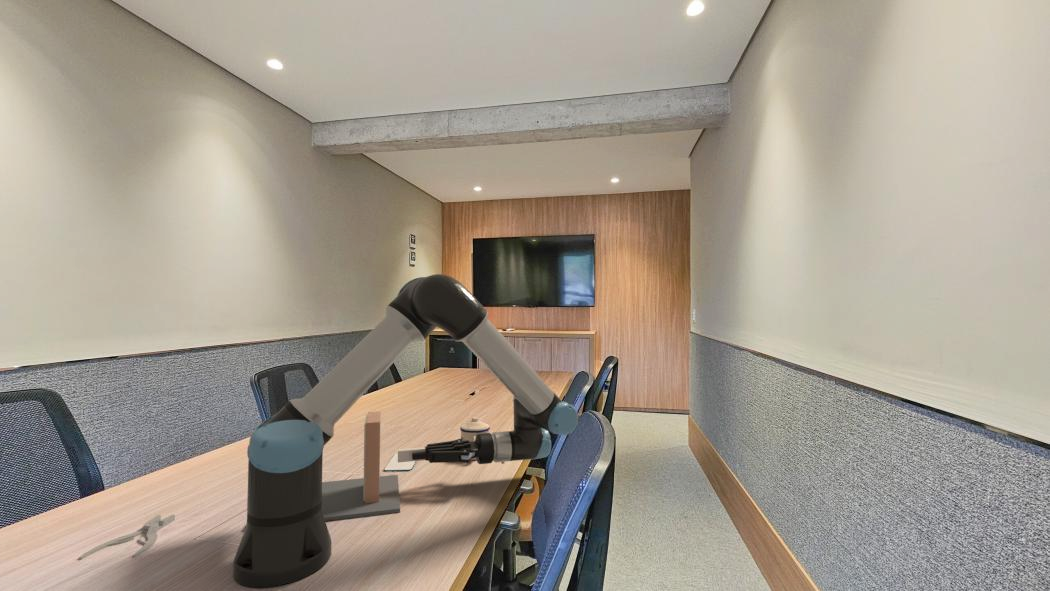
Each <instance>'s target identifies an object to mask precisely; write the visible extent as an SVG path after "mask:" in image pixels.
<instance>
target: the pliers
mask: <svg viewBox="0 0 1050 591" xmlns="http://www.w3.org/2000/svg"><path fill="white" fill-rule="evenodd" d="M175 518H176V515H175V514H171V515H168V516H167V517H164V518H162V515H161V514H156V516H154V517H152V518H151V519H149V520H148V521H146V522H145V523H144V524H143V526H142V527H143V528H142V529H140V530H138V531H135V532H132V533H130V534H125V535H122V536H119V537H116V538H114V539H110V540H109V541H106V542H104V543H101V544H99V545H97V546H95V547H93V548H92V549H90V550H89V549H88V551H86V552H85V553H83V554H81V555H80V556H79V557H78V560H79V561H81V560H82V561H83V560H84V559H85V558H87V557H89V556H91V555H94V554H95V553H97V552H99V551H101V550H103V549H105V548H108V547H113V546H118V545H121V544H125V543H128V542H132V541H134V540H135V538H136V537H138V536H139V539H138V542H139V543H140V545H141V544H142V547H140V549H138V550H137V551H136V552H135V553H134V554H132V556H131V557H132V558H136V557H138V556H140V555H142V554H143V553H145V552H147V550H149V549H150V548H151V547H153V546H154V545H155V544H156V542H157V540H158V534H157V532H158V531H159V530H161V529H162V528H165V527H166V526H168V525H170V524H171V523H173V522H175V520H176V519H175ZM143 534H146V538H147V540H143V539H142V537H141V536H140V535H143Z"/></svg>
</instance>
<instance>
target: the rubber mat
mask: <svg viewBox="0 0 1050 591" xmlns="http://www.w3.org/2000/svg"><path fill="white" fill-rule="evenodd" d="M363 487H364V477H362V478H361V477H359V478H352V479H351V478H349V479H341V480H332V481H322V514H323V517H324V519H325V522H330V521H329V520H332V521H337V520H338V521H340V520H349V519H355V518H362V517H363V518H364V517H371V516H379V515H387V514H388V515H389V514H394V513H395V514H396V513H401V501H400V489H399V488H400V487H399V475H398V474H393V475H392V474H390V475H383V476H382V475H380V488H379V502H374V503H365V501H363ZM244 527H245V528H246V526H244ZM245 528H244V529H245Z"/></svg>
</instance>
